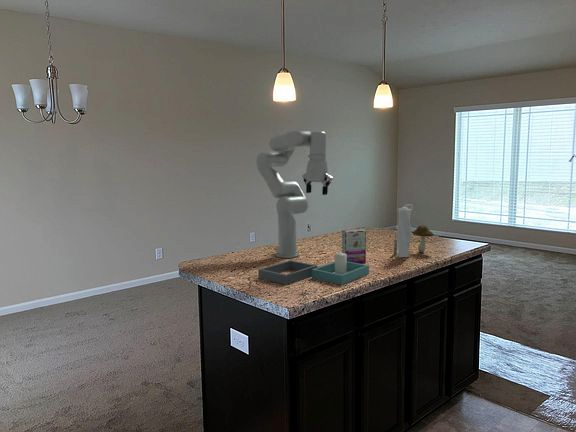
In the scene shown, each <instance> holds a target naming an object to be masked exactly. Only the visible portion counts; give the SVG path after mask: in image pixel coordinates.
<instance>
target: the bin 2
mask: <svg viewBox="0 0 576 432" xmlns="http://www.w3.org/2000/svg"><path fill="white" fill-rule="evenodd" d="M369 274H370V265H369V264H365V263H353V262H347V265H346V273H344V274H342V275H341V274H336V273H335V261H333V262H330V263H327V264H324V265H321V266H317V268H314V269H312V276H311V279H313V280H318V281H323V282H326V283H332V284H337V285H340V286H342V285H345V284H348V283H351V282H353V281H356V280H358V279H360V278H363V277H365V276H368V275H369Z"/></svg>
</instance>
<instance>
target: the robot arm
mask: <svg viewBox="0 0 576 432" xmlns="http://www.w3.org/2000/svg"><path fill="white" fill-rule="evenodd" d="M268 142H269V144H268V145H269V148H270V150H272V151H270V150H269V151H262V152H260V153H259V154H258V155H256V160H255V161H256V168H257V171H258V173H259V174H260V175H261V177H262V178H263V179H264V181H265V184H266V185H267V187H268V190H269V191H270V192H271V194H272V196H273V198H274V199H277V200H276V201H277V202H276V204H275V207H276V212H277V219H278V221H277V225H278V226H277V227H278V228H277V229H278V234H277V235H278V236H277V237H278V245H275V247H273V250H274V251H276V252H275V256H276V257H277V258H281V259H294V258H298V257H300V252H298V251H297V221H296V218H295V216H294V215H297V214H298V215H299V214H304V213H306V212H307V211H308V209H309V202H308V199H307V197H306V195H305V193H306V194H310V193H312V183H321V184H322V185H323V186H322V191H321V192H322V195H323V196H326V195H328V191H329V188H328V187H329V186H330V184H332V181H333V176H332V175H330V174H328V173H329V171H328V163H327V161H326V158H327V157H326V156H327V155H326V154H327V150H326V149H327V133H326V132H325V131H321V130H320V131H318V130H317V131H315V130H294V131H287V132H286V133H283V134H277V135H274V136H272V137H271V138H270V139H269V141H268ZM299 147H300V148H303V147H307V148H309V154H308V156H307V157H308V158H309V160H307V165H306V170H305V171H306V173H304V174H302V179H303V182H304V185H306V186H305V193H304V192H303V190H302V188H301V187H300V185H299V184H298V182H297V181H294V180H283V178H282V176H281V175H280V173H279V172H278V170H276V169H275V168H279V167H280V168H281V167H285V166H286V165H287V164H288V163H289V161H290V159H291V157H292V156H293V153H294V151H295V150H296V148H299Z"/></svg>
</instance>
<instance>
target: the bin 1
mask: <svg viewBox="0 0 576 432" xmlns="http://www.w3.org/2000/svg"><path fill="white" fill-rule="evenodd" d="M317 267H318V265H317V264H311V263H306V262H301V261H297V260H292V259H290V260H286V261H283V262H279V263H276V264H273V265H268V266H265V267H262V268H258V277H257V278H258V279H260V278H261V279H260V280H264V279H265V280H264V281H269V282H273V283H276V284H281V285H285V286H287V284H288V285H291V284H293V283H296V282H299V281H301V280H304V279H307V278H312V269H314V268H317ZM286 270H287V271H289V270H291V271H292V270H293V272H290V273H286V274H284V273H283V271H284V272H286Z"/></svg>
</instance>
